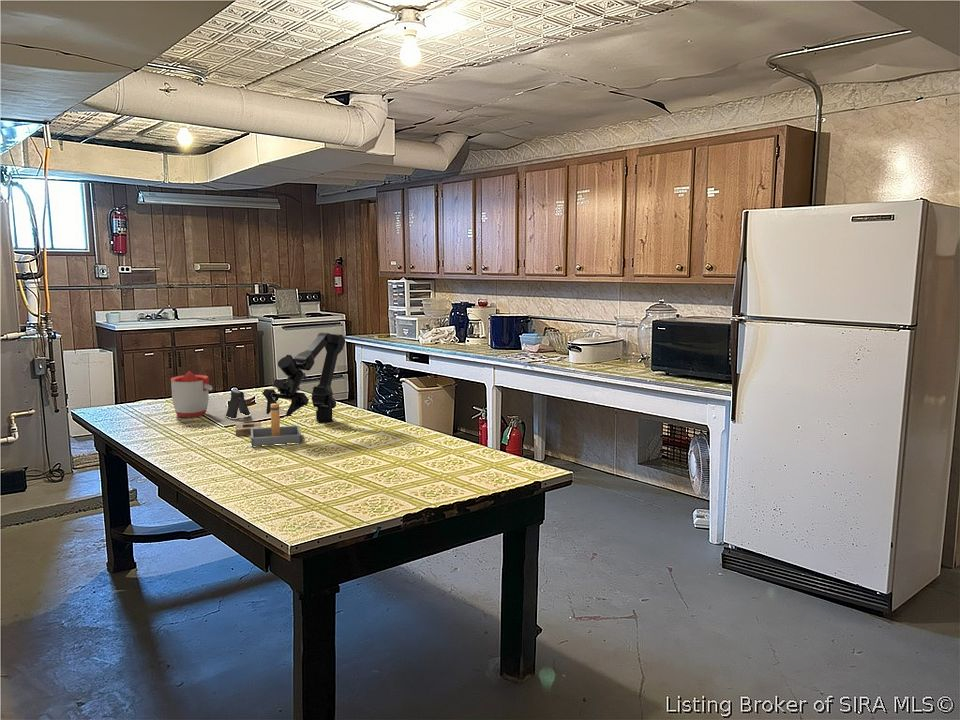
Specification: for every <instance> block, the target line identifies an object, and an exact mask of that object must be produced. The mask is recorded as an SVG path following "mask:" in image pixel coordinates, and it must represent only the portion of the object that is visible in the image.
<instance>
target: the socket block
mask: <svg viewBox="0 0 960 720" xmlns="http://www.w3.org/2000/svg"><path fill="white" fill-rule="evenodd" d="M254 428H263V427H262V421H257V422H256V421H255V422H243V423H242V422H240V423H239V422H238V423H237V422H236V423H235V436H236V437H239V436H251V429H254Z"/></svg>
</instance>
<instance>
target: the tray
mask: <svg viewBox="0 0 960 720" xmlns="http://www.w3.org/2000/svg"><path fill="white" fill-rule="evenodd" d="M250 443H251V445H252V446H251V448H254V447H253V446H262V445H274V444H287V443H303V435H302V432H301V428H300V426H299V425H288V426H280V436H273V437H272V431H271V427H270V426H269V427H262V428H254V429H251V435H250Z"/></svg>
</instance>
